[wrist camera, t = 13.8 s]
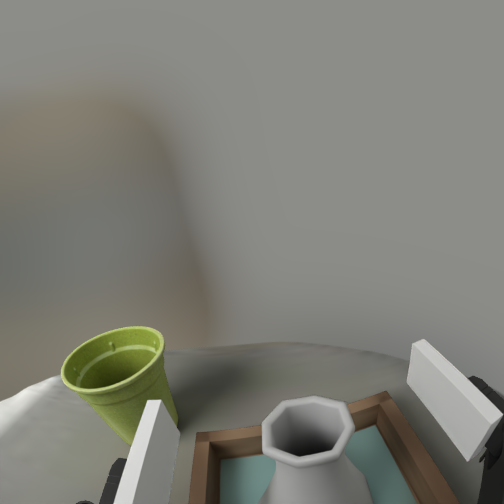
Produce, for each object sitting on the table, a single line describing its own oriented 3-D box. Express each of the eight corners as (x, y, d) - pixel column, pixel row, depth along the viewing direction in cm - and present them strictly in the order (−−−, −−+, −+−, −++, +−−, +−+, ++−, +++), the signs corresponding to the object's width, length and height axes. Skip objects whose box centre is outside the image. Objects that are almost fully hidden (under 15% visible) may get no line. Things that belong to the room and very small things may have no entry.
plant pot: (218, 423, 20) (186, 345, 18) (134, 480, 14) (74, 407, 12) (163, 385, 27) (134, 317, 25) (95, 424, 20) (53, 356, 18)
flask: (379, 467, 12) (404, 355, 9) (366, 559, 5) (418, 515, 3) (274, 464, 14) (243, 360, 12) (237, 547, 8) (162, 485, 6)
